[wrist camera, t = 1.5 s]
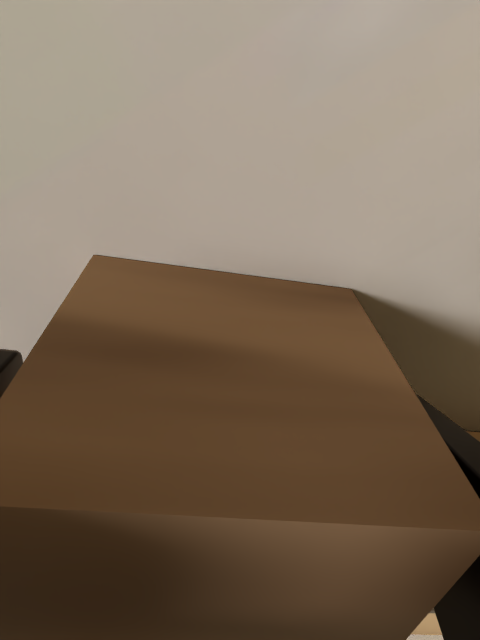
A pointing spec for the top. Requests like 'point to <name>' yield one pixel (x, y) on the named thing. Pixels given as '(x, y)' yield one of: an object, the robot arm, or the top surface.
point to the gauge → (221, 468)
